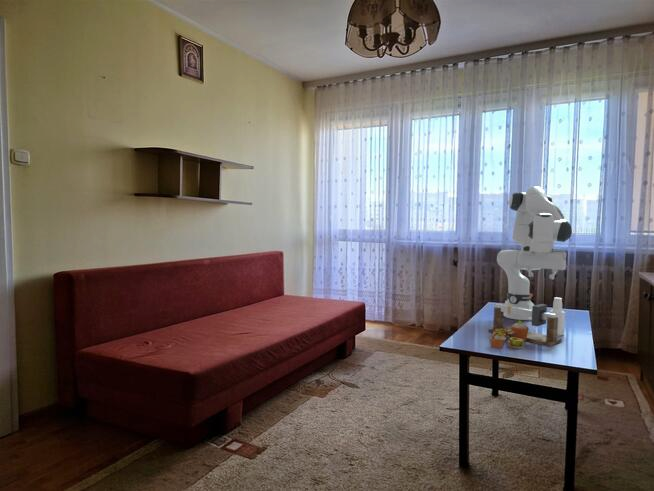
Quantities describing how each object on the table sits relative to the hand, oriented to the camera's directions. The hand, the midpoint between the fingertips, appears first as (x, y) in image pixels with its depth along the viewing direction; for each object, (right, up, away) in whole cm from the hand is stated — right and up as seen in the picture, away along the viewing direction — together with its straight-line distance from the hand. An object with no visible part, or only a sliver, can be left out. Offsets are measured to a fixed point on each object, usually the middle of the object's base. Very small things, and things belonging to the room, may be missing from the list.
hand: (541, 278), depth 195 cm
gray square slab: (0, -22, +1) cm, 22 cm away
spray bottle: (+15, -29, +14) cm, 35 cm away
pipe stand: (-5, -29, +7) cm, 30 cm away
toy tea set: (-17, -30, -3) cm, 34 cm away
